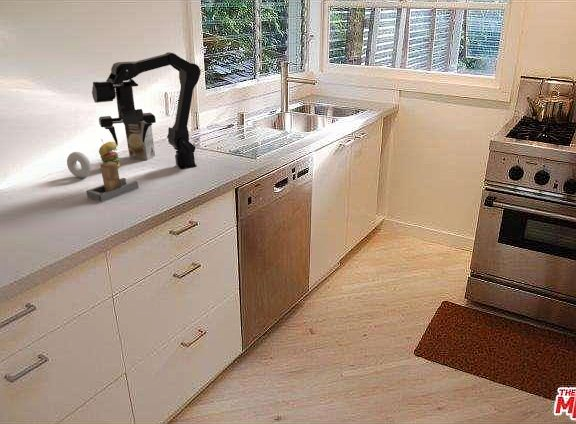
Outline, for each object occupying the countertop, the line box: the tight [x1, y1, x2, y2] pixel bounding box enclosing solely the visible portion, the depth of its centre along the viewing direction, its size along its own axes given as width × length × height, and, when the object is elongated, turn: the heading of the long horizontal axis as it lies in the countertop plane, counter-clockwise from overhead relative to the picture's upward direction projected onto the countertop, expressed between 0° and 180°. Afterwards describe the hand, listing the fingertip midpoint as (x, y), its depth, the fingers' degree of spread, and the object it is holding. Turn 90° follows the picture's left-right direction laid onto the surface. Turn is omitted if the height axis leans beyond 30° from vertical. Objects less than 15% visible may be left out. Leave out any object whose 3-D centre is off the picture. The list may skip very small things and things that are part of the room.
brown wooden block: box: [100, 161, 121, 192], centre depth 169 cm, size 4×4×10 cm
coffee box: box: [124, 121, 156, 161], centre depth 206 cm, size 9×6×16 cm
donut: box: [66, 151, 92, 179], centre depth 186 cm, size 10×4×10 cm, turn 69°
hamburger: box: [98, 138, 121, 169], centre depth 195 cm, size 8×7×12 cm
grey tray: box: [86, 177, 140, 203], centre depth 171 cm, size 15×8×2 cm, turn 144°
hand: (130, 143), depth 181 cm, fingers open, 9 cm apart
